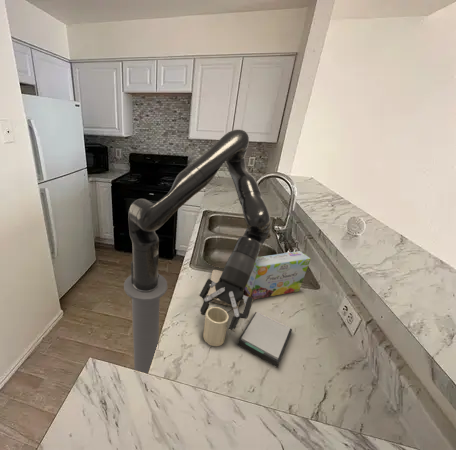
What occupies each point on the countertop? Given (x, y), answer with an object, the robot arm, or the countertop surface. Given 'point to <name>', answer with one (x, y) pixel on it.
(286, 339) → the kitchen scale
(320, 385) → the countertop surface
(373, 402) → the countertop surface
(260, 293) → the snack box
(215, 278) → the washcloth
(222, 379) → the countertop surface
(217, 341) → the ceramic cup
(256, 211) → the robot arm
